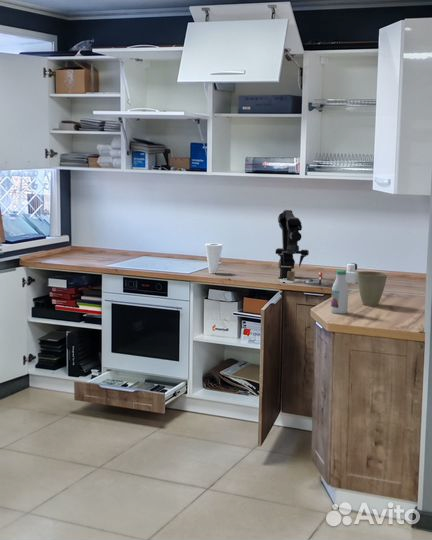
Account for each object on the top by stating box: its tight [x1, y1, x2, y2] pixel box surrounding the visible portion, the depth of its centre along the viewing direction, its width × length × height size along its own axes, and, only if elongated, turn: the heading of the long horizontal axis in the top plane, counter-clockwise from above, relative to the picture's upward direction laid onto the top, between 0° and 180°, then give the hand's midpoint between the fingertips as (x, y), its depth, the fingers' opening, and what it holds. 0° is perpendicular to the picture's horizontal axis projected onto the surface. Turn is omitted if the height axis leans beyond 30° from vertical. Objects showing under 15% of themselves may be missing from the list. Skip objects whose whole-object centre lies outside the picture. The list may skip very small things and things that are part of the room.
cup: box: [204, 243, 223, 274], centre depth 478 cm, size 11×11×18 cm
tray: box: [279, 278, 303, 284], centre depth 452 cm, size 9×9×2 cm
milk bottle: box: [330, 269, 349, 315], centre depth 366 cm, size 8×8×20 cm
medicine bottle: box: [345, 262, 359, 284], centre depth 456 cm, size 7×7×12 cm
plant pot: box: [357, 271, 388, 307], centre depth 390 cm, size 15×15×16 cm
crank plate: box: [295, 279, 333, 287], centre depth 448 cm, size 16×14×4 cm
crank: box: [303, 272, 323, 285], centre depth 450 cm, size 13×9×5 cm
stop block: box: [287, 271, 296, 281], centre depth 452 cm, size 4×4×6 cm
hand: (291, 266), depth 451 cm, fingers open, 9 cm apart
